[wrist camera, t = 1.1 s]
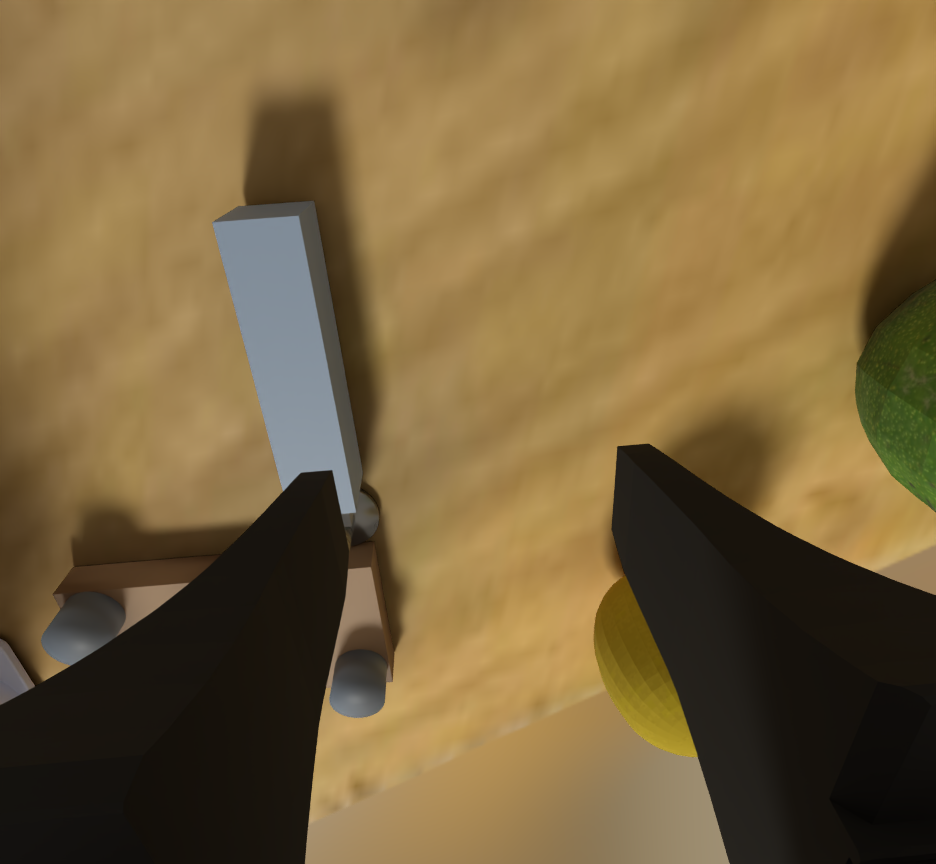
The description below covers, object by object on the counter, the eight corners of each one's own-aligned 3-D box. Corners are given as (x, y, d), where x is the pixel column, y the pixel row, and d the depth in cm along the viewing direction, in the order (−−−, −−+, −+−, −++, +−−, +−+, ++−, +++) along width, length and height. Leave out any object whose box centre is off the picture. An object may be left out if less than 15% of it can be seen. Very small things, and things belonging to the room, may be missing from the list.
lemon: (571, 626, 27) (620, 809, 20) (579, 529, 25) (639, 703, 18) (691, 618, 27) (781, 797, 21) (713, 522, 25) (824, 691, 18)
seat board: (129, 676, 27) (96, 741, 25) (73, 567, 24) (28, 627, 21) (394, 653, 27) (390, 715, 25) (374, 541, 24) (367, 598, 22)
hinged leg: (367, 496, 23) (361, 538, 21) (309, 502, 23) (296, 543, 21) (314, 200, 18) (298, 215, 15) (238, 206, 17) (212, 222, 15)
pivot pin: (313, 544, 24) (298, 603, 21) (299, 487, 23) (281, 542, 20) (383, 538, 24) (377, 597, 21) (374, 481, 23) (366, 535, 20)
